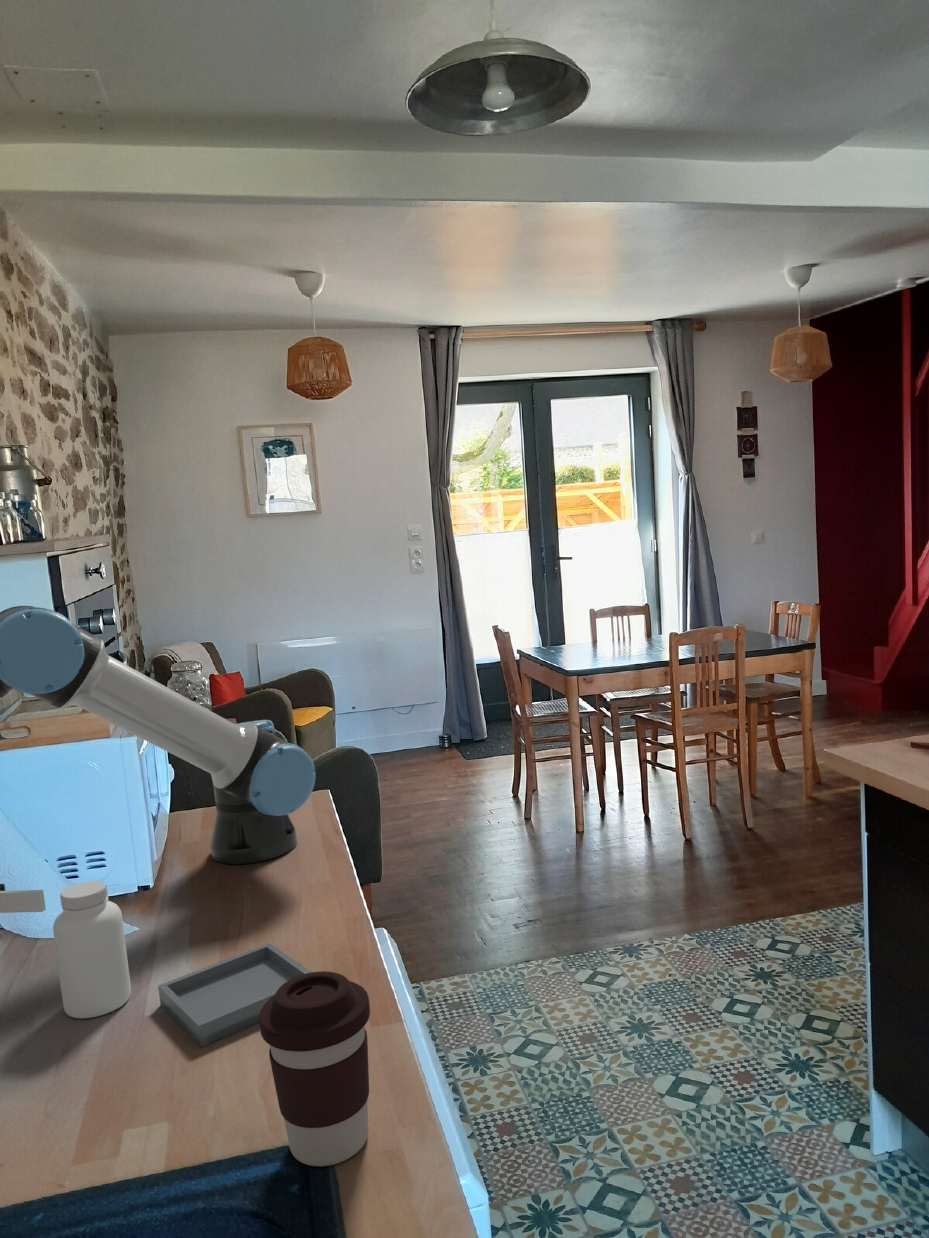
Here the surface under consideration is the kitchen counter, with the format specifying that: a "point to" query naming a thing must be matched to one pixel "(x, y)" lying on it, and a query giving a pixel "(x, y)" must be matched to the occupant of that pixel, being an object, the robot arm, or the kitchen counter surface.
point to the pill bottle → (91, 951)
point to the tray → (227, 992)
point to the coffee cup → (320, 1064)
